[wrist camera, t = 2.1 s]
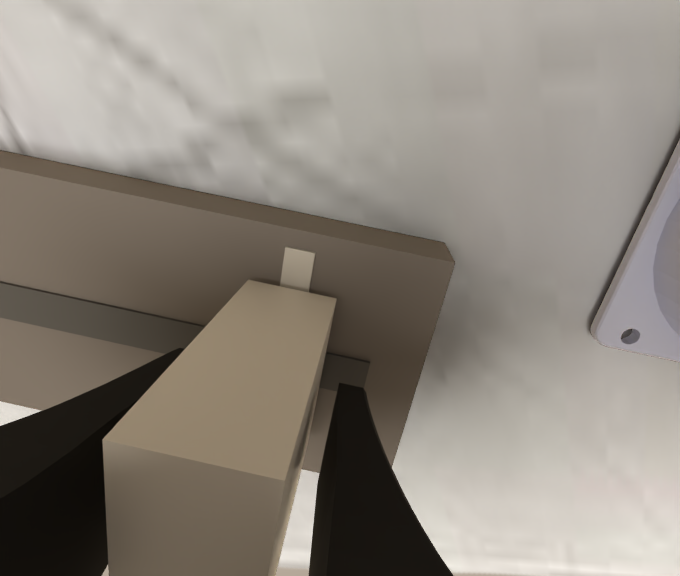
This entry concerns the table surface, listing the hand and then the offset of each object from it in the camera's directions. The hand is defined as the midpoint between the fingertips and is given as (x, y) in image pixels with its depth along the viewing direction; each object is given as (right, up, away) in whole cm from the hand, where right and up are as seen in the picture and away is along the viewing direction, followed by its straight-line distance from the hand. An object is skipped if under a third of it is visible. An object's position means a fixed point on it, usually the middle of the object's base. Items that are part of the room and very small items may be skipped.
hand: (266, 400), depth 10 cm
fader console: (-5, +3, +4) cm, 7 cm away
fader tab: (0, +1, +1) cm, 2 cm away
